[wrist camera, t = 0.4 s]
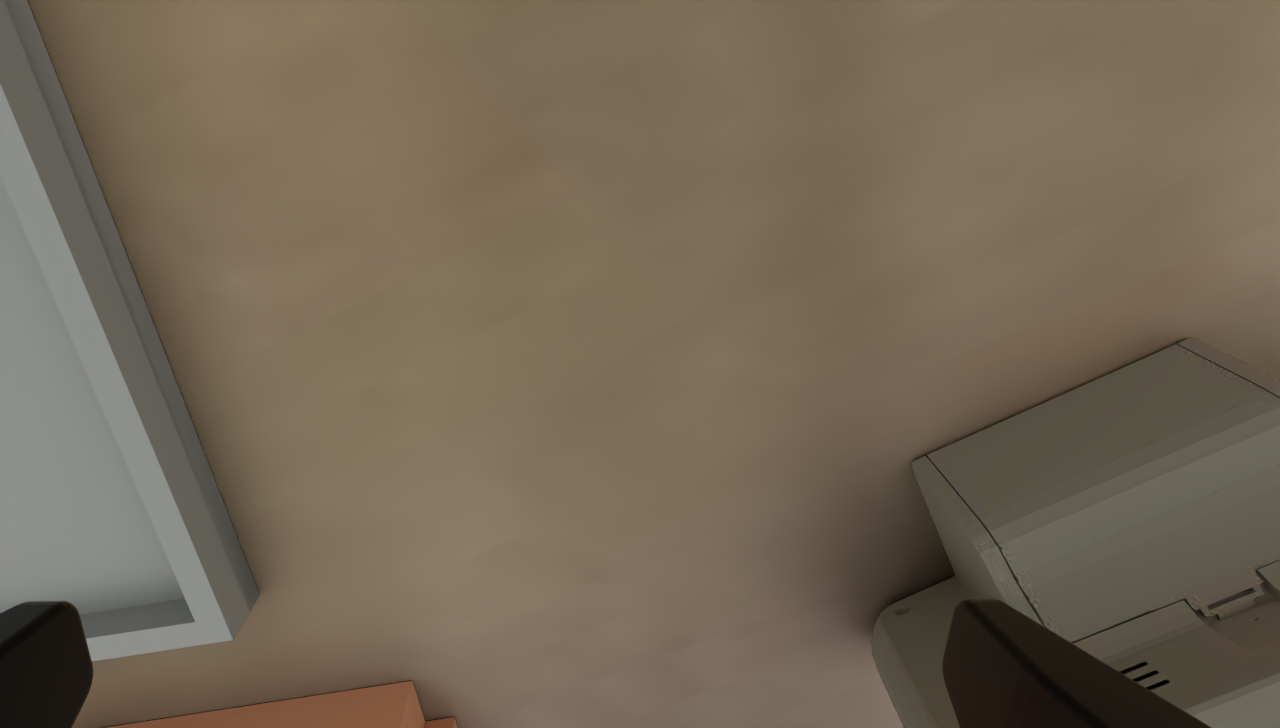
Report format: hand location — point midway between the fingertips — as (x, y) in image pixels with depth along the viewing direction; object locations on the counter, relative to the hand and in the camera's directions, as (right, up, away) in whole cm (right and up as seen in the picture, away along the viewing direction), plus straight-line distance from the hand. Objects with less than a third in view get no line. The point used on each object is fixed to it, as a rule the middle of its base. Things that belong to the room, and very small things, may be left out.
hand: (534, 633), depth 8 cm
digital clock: (+15, -2, +17) cm, 23 cm away
